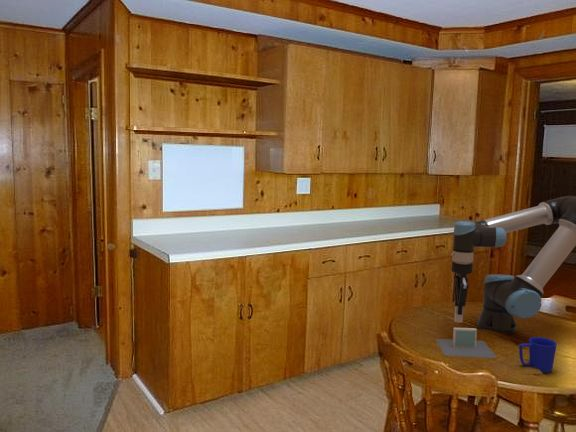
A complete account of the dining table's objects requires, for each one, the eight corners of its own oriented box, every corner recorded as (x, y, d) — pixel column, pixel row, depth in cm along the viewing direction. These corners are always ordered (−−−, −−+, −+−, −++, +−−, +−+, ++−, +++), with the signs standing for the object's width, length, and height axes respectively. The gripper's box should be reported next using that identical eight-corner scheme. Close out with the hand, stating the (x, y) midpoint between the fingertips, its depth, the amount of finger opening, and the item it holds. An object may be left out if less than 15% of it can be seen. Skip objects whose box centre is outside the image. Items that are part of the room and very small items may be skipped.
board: (483, 344, 186) (483, 340, 186) (496, 361, 170) (497, 357, 170) (435, 342, 188) (435, 338, 188) (444, 359, 172) (444, 355, 172)
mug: (511, 365, 168) (513, 337, 167) (544, 364, 169) (546, 336, 168) (525, 375, 160) (527, 346, 159) (559, 374, 161) (562, 345, 160)
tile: (474, 346, 180) (475, 328, 179) (475, 348, 179) (477, 330, 178) (452, 345, 181) (453, 327, 180) (453, 347, 179) (454, 329, 178)
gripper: (448, 258, 191) (444, 315, 194) (456, 265, 179) (452, 326, 181) (467, 259, 191) (463, 316, 193) (477, 266, 178) (472, 328, 181)
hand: (458, 321), depth 187 cm, fingers closed
